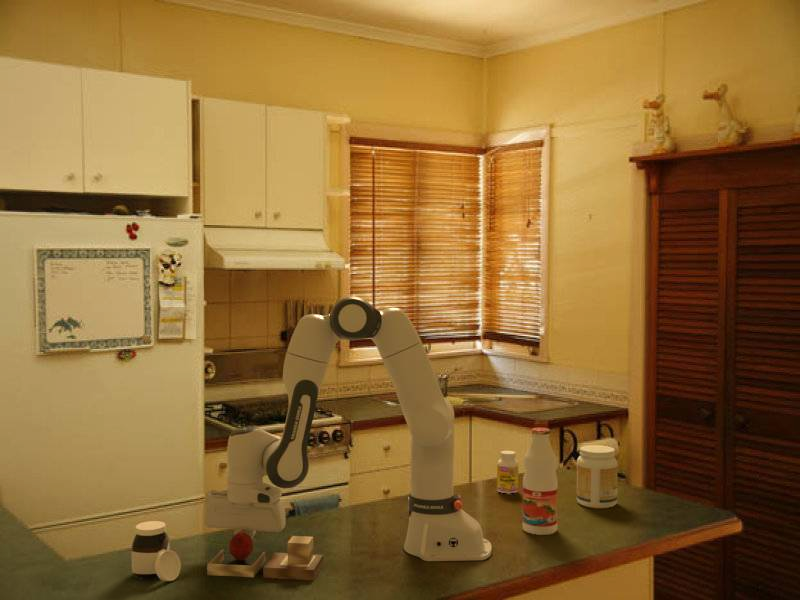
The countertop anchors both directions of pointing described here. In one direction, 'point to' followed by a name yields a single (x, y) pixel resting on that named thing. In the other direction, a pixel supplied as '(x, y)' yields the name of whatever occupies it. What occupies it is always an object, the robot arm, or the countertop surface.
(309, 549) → the oak block
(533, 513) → the fruit juice
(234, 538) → the onion
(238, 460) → the robot arm
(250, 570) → the wooden tray
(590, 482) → the supplement tub
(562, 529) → the countertop surface
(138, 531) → the spread jar
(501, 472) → the supplement bottle
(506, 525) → the countertop surface
